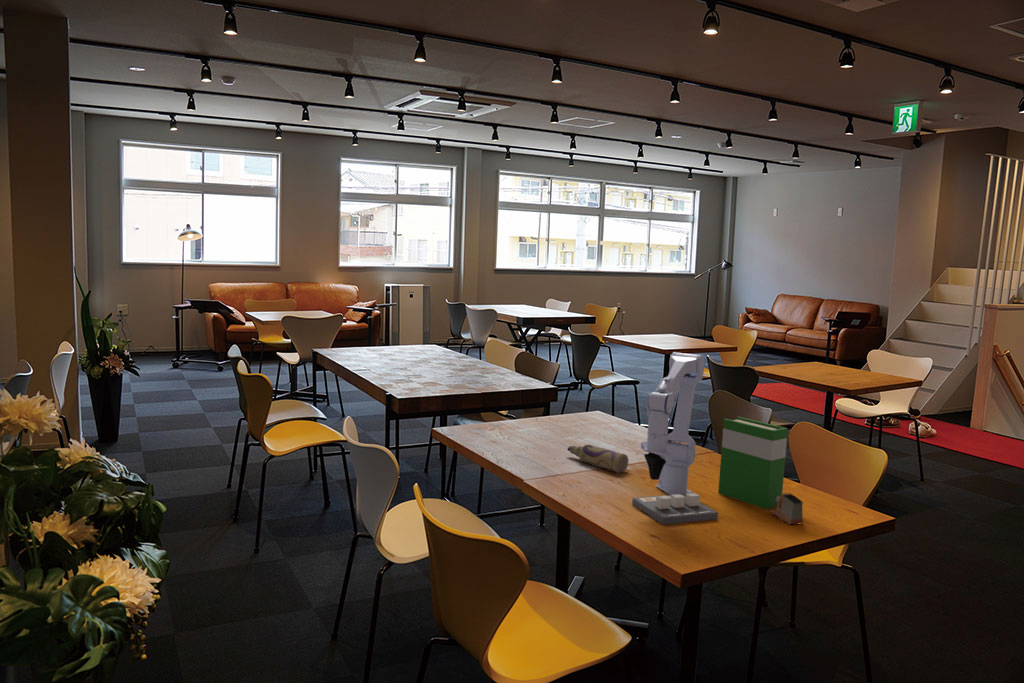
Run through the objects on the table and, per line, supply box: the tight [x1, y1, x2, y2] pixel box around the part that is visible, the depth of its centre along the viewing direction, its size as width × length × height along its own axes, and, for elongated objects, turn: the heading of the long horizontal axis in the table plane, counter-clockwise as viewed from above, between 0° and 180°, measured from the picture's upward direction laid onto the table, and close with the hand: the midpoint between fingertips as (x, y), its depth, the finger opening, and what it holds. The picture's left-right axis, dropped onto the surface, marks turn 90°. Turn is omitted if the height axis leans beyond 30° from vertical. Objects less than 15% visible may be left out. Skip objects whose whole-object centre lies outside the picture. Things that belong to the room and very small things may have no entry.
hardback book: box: [717, 416, 789, 510], centre depth 225 cm, size 18×7×24 cm, turn 37°
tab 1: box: [655, 495, 670, 509], centre depth 208 cm, size 2×3×3 cm
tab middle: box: [671, 494, 685, 508], centre depth 210 cm, size 2×3×3 cm
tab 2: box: [685, 492, 700, 506], centre depth 212 cm, size 2×3×3 cm
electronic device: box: [769, 492, 804, 525], centre depth 209 cm, size 4×10×8 cm, turn 17°
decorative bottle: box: [567, 444, 629, 474], centre depth 258 cm, size 26×8×7 cm, turn 41°
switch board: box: [632, 494, 719, 526], centre depth 211 cm, size 17×18×2 cm
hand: (654, 478), depth 212 cm, fingers closed
